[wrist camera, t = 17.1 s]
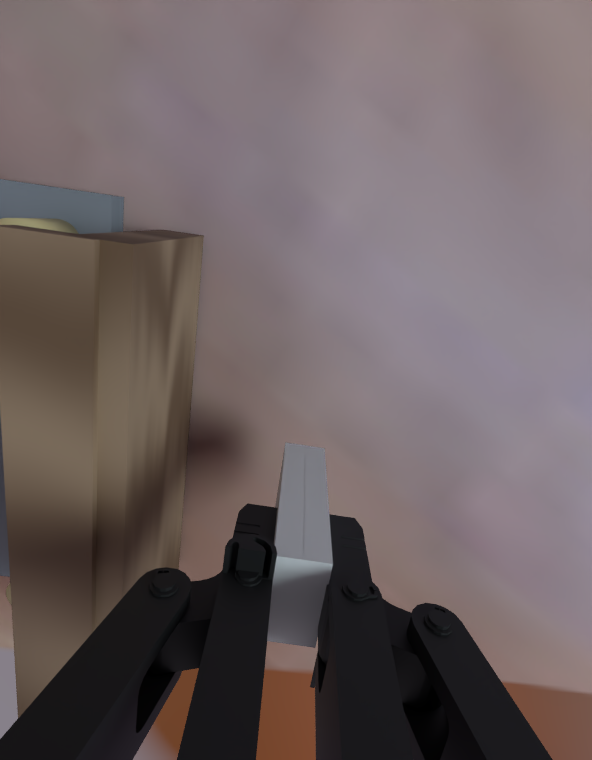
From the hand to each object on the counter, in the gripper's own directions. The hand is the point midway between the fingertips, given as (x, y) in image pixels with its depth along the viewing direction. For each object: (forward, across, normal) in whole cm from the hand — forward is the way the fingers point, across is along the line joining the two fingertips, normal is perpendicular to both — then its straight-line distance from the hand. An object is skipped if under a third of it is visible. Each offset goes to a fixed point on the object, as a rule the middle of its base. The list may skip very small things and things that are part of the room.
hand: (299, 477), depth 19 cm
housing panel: (+4, -6, 0) cm, 7 cm away
